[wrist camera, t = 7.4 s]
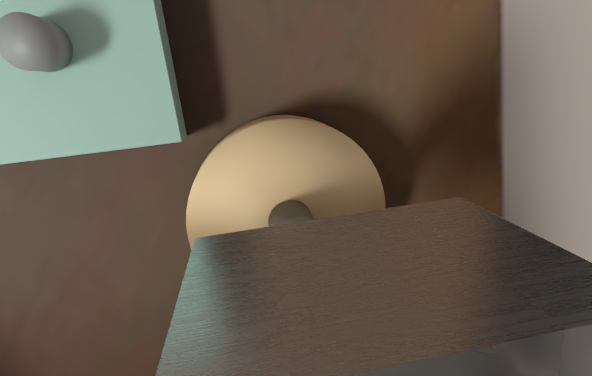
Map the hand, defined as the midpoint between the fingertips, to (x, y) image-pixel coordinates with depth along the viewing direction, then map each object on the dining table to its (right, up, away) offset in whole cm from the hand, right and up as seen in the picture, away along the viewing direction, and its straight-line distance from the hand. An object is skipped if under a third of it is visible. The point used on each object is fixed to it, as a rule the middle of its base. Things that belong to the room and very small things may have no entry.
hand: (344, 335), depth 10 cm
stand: (-12, +10, +6) cm, 17 cm away
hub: (-2, +3, +10) cm, 11 cm away
